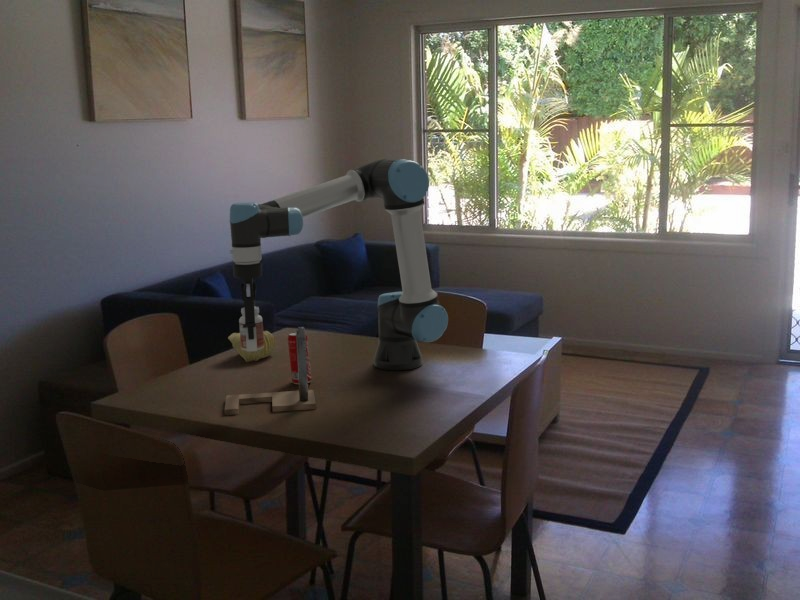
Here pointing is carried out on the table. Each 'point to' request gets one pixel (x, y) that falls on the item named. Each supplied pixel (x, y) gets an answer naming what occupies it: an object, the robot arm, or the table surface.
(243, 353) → the seashell
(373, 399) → the table surface
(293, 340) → the beverage can
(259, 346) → the pill bottle
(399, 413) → the table surface
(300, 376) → the hook post
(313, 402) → the notched tan block
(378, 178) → the robot arm
